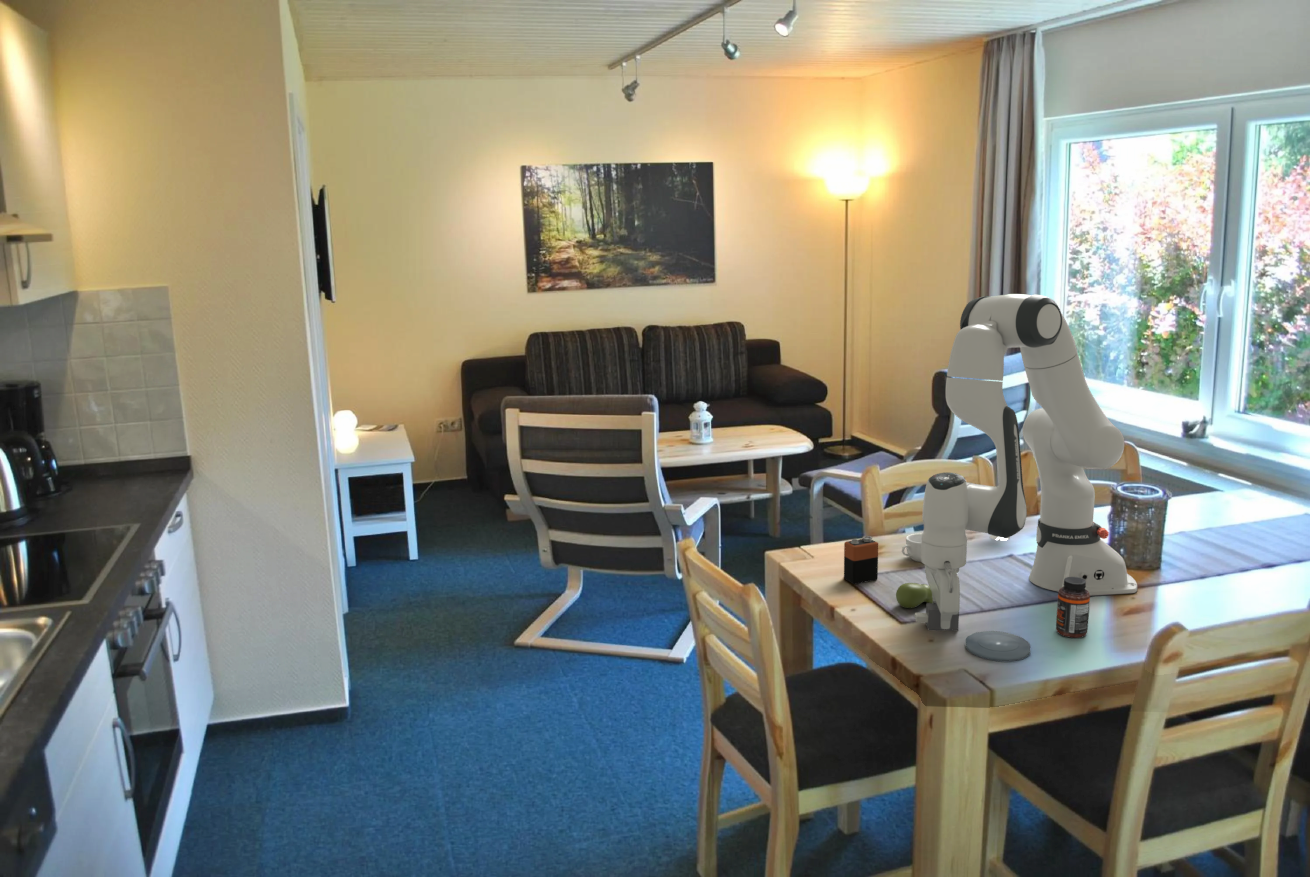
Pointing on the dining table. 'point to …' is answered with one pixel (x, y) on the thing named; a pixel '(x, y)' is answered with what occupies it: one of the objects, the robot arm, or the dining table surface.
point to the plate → (998, 646)
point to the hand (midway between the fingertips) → (941, 618)
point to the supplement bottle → (1073, 608)
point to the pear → (913, 594)
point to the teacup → (913, 546)
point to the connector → (936, 618)
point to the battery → (861, 560)
